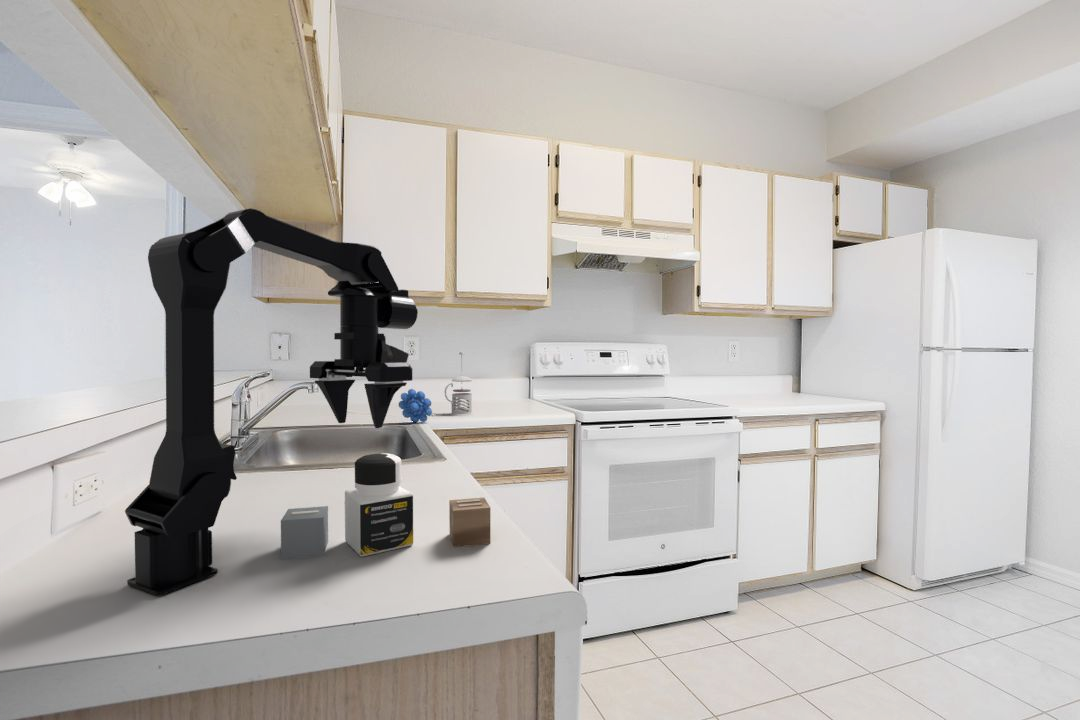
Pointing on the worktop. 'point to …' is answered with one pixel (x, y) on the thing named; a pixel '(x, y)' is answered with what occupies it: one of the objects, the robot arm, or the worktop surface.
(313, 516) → the slate block one
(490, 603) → the worktop surface
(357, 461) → the medicine bottle
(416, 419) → the blue knobby cluster
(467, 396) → the french press
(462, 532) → the walnut block two
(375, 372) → the robot arm
